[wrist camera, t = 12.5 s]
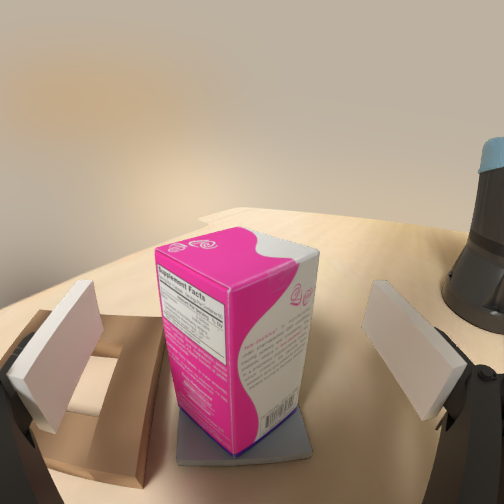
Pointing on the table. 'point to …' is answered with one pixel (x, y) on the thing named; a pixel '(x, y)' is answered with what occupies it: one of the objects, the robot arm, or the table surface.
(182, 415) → the coaster
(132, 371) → the board
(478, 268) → the robot arm
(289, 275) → the supplement box
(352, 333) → the table surface
